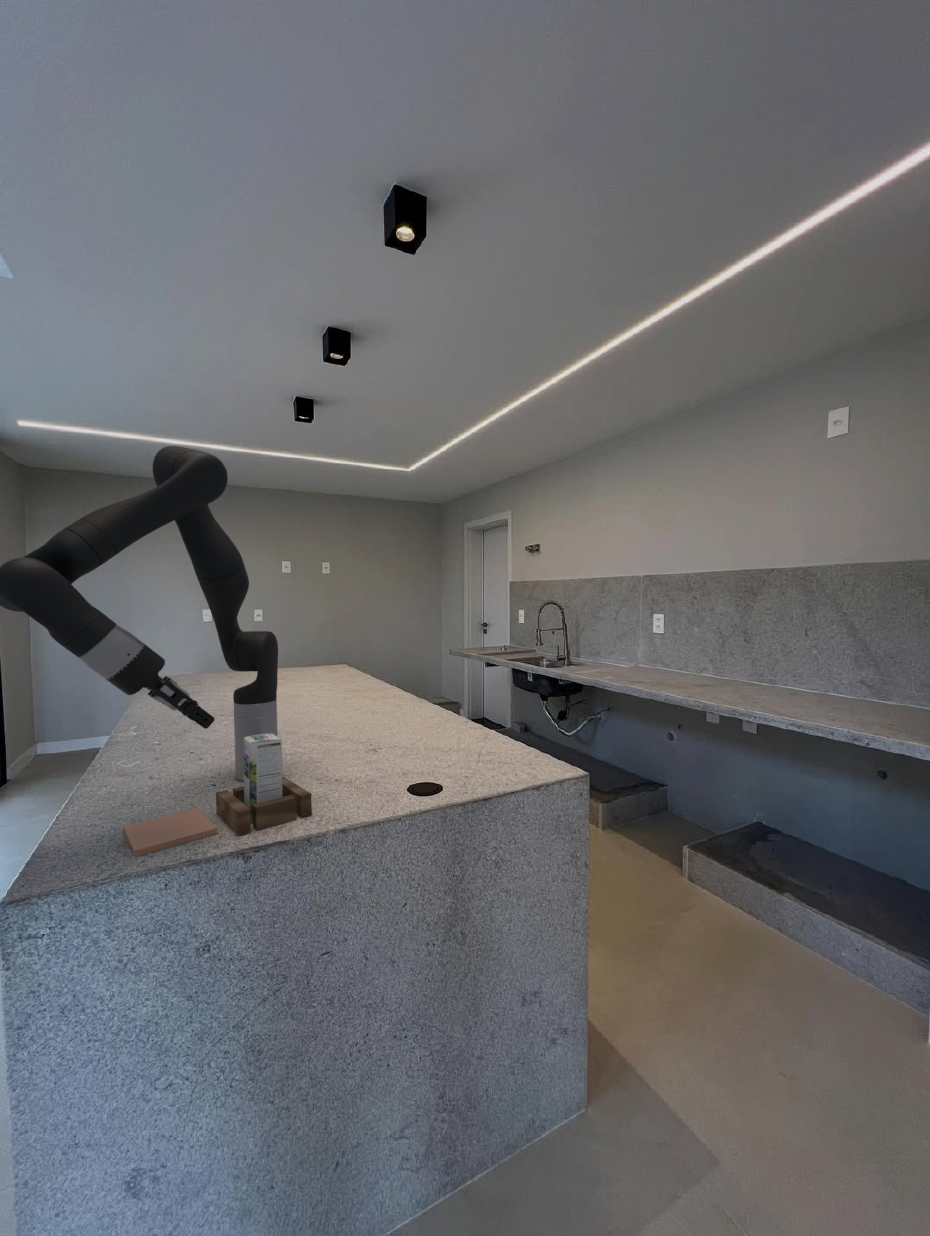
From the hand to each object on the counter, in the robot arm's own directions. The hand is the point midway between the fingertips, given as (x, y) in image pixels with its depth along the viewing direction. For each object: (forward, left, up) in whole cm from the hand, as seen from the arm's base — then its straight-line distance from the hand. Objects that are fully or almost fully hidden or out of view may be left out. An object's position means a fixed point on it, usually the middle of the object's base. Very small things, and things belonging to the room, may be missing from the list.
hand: (203, 720), depth 90 cm
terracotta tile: (-3, -5, -19) cm, 20 cm away
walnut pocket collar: (0, +10, -19) cm, 22 cm away
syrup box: (0, +10, -19) cm, 22 cm away
